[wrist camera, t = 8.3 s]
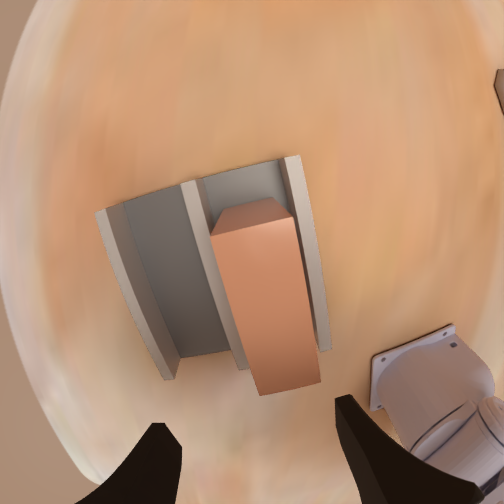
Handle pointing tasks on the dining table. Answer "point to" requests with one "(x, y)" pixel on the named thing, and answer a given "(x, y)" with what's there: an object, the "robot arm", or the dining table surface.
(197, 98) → the dining table surface
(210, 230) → the dish rack
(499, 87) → the flask
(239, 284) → the terracotta tile
